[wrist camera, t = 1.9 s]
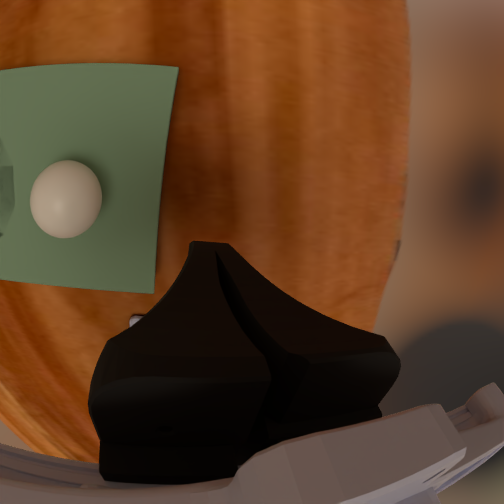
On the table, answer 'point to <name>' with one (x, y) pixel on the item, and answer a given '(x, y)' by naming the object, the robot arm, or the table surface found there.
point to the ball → (66, 199)
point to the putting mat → (94, 157)
